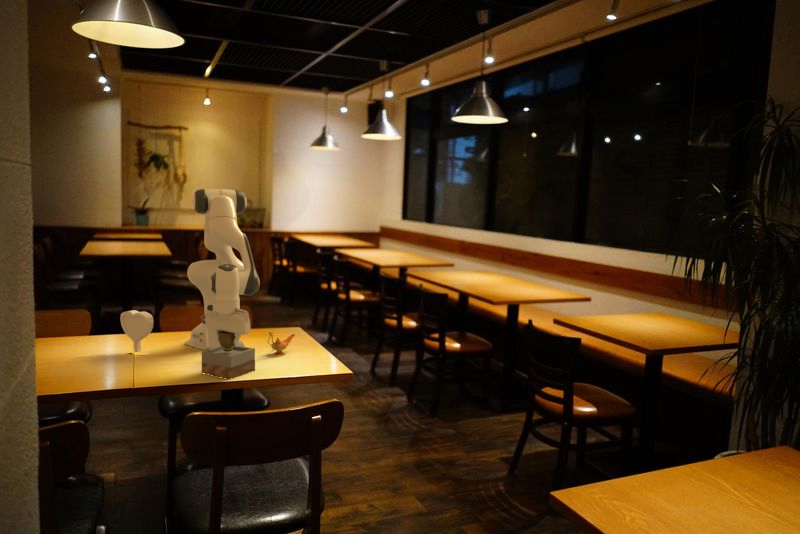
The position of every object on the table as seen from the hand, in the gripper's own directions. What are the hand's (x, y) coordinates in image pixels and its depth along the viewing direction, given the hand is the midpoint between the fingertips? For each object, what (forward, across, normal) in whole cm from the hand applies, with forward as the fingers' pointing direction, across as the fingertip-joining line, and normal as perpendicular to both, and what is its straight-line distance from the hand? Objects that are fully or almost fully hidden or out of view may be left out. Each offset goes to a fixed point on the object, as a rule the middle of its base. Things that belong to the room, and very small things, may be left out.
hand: (227, 342), depth 229 cm
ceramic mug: (+12, +14, -16) cm, 24 cm away
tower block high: (+7, 0, 0) cm, 7 cm away
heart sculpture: (+12, +51, +1) cm, 52 cm away
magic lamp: (+12, +1, -33) cm, 35 cm away
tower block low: (+12, 0, 0) cm, 12 cm away
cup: (+3, 0, 0) cm, 3 cm away
